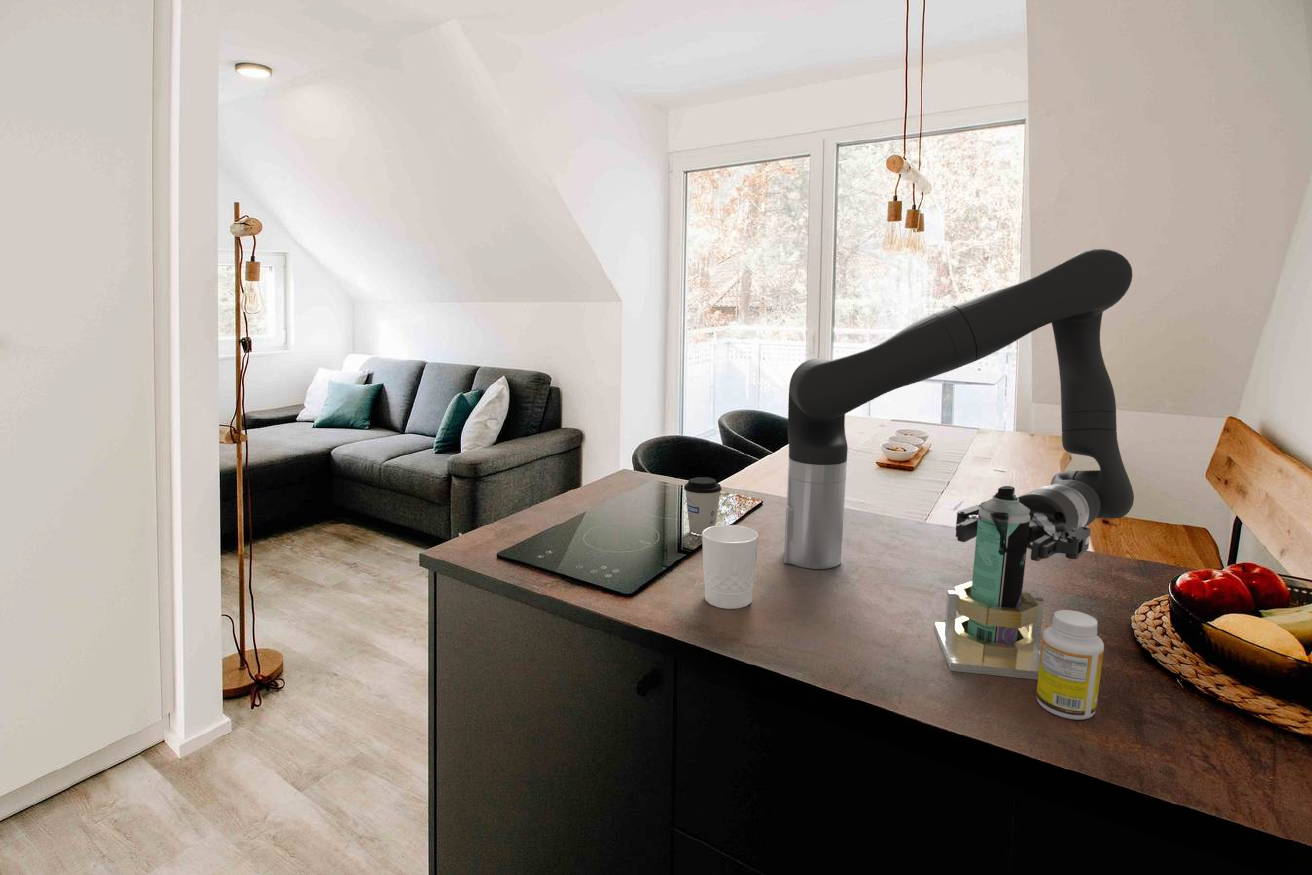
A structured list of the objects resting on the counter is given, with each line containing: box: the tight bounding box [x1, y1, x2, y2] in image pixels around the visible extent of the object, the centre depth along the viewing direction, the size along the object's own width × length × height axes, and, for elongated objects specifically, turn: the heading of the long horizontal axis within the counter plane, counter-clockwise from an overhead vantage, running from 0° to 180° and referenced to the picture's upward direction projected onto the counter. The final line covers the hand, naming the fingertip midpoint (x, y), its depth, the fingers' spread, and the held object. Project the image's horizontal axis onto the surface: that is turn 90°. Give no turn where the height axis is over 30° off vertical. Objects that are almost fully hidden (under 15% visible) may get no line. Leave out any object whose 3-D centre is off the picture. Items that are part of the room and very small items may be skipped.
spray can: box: [967, 485, 1030, 644], centre depth 85 cm, size 6×6×20 cm
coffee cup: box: [683, 476, 723, 534], centre depth 131 cm, size 7×7×10 cm
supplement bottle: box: [1035, 609, 1105, 721], centre depth 74 cm, size 6×6×10 cm
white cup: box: [701, 524, 759, 610], centre depth 101 cm, size 8×8×10 cm
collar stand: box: [933, 580, 1045, 681], centre depth 86 cm, size 11×11×8 cm
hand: (996, 542), depth 83 cm, fingers open, 8 cm apart
